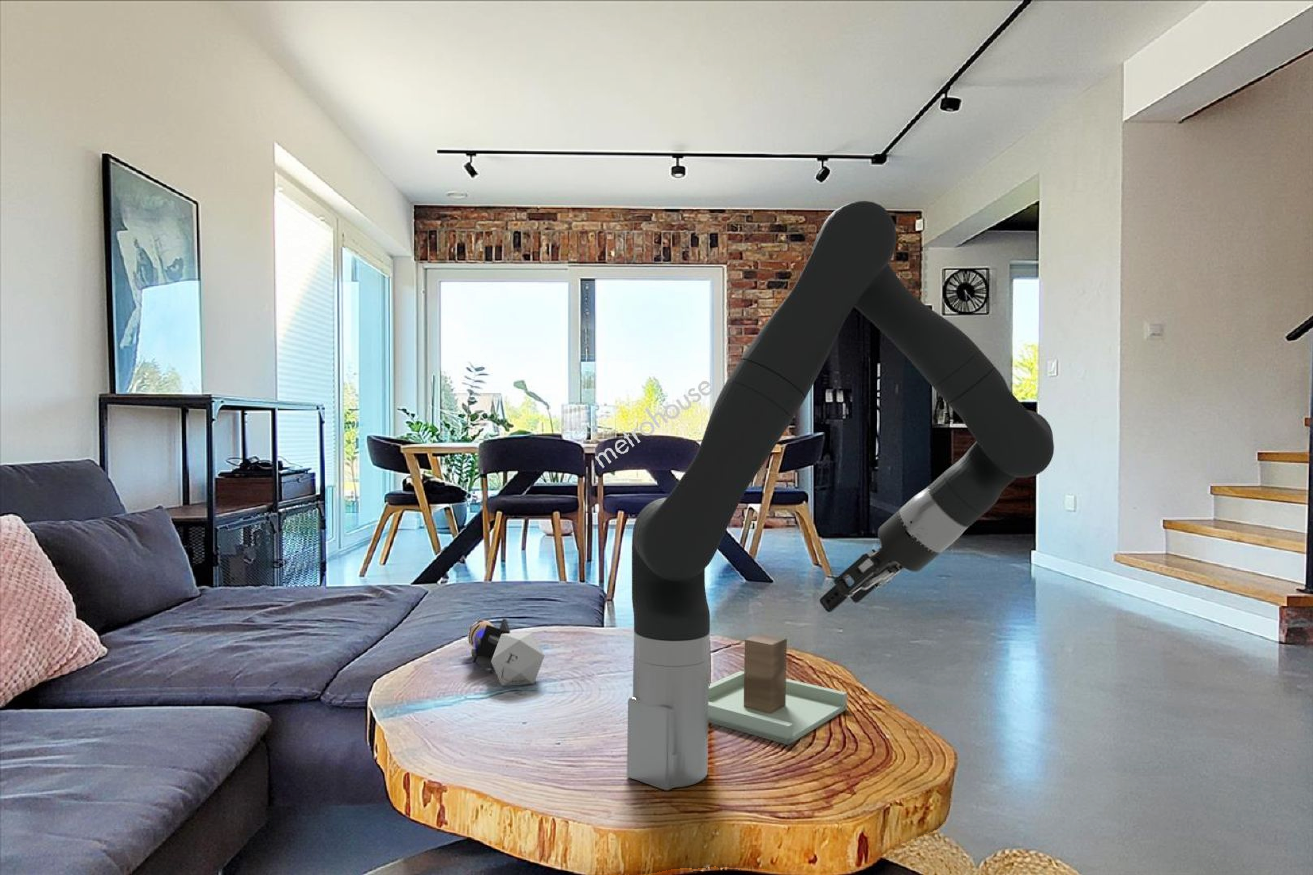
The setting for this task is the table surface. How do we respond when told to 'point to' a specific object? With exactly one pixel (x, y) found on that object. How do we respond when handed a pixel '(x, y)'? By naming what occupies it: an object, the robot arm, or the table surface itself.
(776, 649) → the block
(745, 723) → the tray
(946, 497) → the robot arm
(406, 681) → the table surface
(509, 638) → the die
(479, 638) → the character figurine
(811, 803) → the table surface
